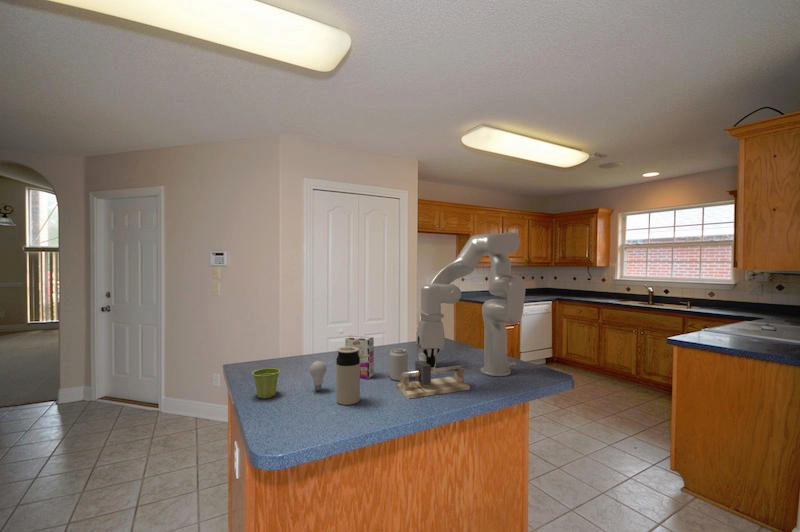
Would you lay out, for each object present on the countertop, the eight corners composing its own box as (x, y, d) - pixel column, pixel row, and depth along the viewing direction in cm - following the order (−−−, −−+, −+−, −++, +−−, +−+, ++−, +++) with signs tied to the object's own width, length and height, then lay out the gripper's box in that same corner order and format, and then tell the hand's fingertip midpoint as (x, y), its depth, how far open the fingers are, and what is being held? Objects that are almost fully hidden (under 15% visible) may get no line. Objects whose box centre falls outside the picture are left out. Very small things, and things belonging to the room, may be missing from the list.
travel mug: (349, 407, 119) (349, 352, 119) (331, 402, 123) (331, 349, 123) (364, 399, 126) (364, 347, 126) (346, 395, 130) (346, 345, 130)
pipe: (458, 370, 142) (458, 364, 142) (461, 371, 140) (461, 365, 140) (402, 377, 133) (402, 371, 133) (404, 379, 131) (404, 372, 131)
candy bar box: (374, 376, 152) (374, 337, 152) (368, 379, 147) (368, 339, 147) (351, 373, 156) (350, 335, 156) (345, 376, 152) (344, 337, 151)
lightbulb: (329, 388, 136) (329, 359, 136) (320, 394, 131) (320, 364, 131) (315, 387, 138) (315, 358, 138) (306, 392, 133) (306, 362, 133)
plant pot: (252, 393, 132) (252, 369, 132) (279, 389, 136) (279, 366, 136) (252, 402, 124) (252, 376, 124) (281, 398, 127) (281, 373, 127)
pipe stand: (453, 379, 147) (453, 363, 147) (469, 389, 136) (469, 372, 136) (396, 387, 138) (396, 370, 137) (408, 398, 126) (408, 380, 126)
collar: (422, 378, 139) (422, 360, 139) (430, 384, 132) (430, 365, 132) (415, 379, 138) (415, 361, 138) (423, 385, 131) (423, 366, 131)
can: (405, 382, 144) (405, 352, 144) (387, 380, 146) (387, 351, 146) (409, 376, 152) (409, 347, 151) (391, 375, 153) (391, 346, 153)
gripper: (443, 315, 142) (443, 362, 142) (408, 317, 137) (408, 366, 137) (453, 318, 135) (453, 367, 135) (416, 320, 130) (416, 371, 130)
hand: (430, 366), depth 136 cm, fingers closed
